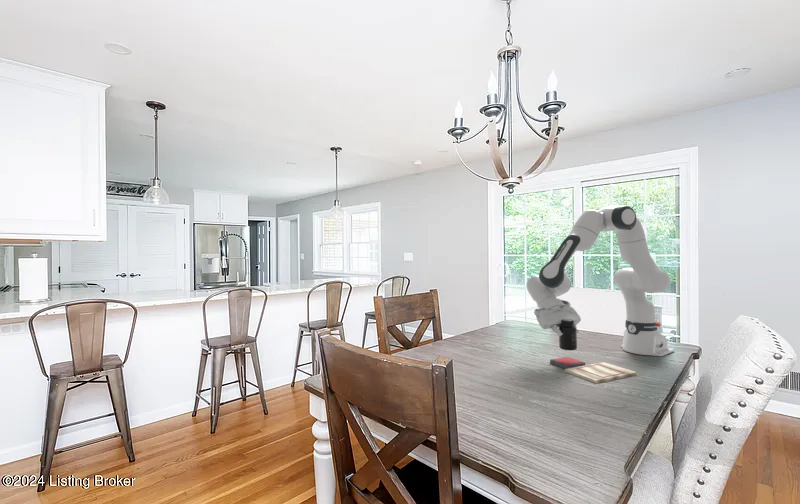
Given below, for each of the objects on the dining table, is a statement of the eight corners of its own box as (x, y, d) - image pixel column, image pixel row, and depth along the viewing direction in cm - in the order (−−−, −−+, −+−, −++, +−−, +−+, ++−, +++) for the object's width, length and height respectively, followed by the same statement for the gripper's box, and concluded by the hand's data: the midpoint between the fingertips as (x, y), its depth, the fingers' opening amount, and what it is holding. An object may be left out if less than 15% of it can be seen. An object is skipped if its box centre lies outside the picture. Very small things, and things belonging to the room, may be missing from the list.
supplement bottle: (573, 346, 157) (573, 318, 157) (579, 350, 150) (579, 321, 150) (556, 346, 158) (556, 318, 158) (562, 350, 151) (561, 321, 151)
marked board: (604, 364, 154) (604, 361, 154) (636, 374, 141) (636, 371, 141) (564, 371, 145) (564, 368, 145) (595, 383, 132) (595, 380, 132)
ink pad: (567, 360, 160) (567, 356, 160) (585, 366, 152) (585, 362, 152) (550, 363, 156) (550, 359, 156) (567, 369, 148) (567, 365, 148)
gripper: (535, 305, 156) (554, 332, 147) (571, 301, 164) (591, 327, 155) (528, 314, 161) (546, 341, 152) (564, 309, 168) (582, 335, 159)
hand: (569, 334), depth 154 cm, fingers closed on supplement bottle, 7 cm apart
